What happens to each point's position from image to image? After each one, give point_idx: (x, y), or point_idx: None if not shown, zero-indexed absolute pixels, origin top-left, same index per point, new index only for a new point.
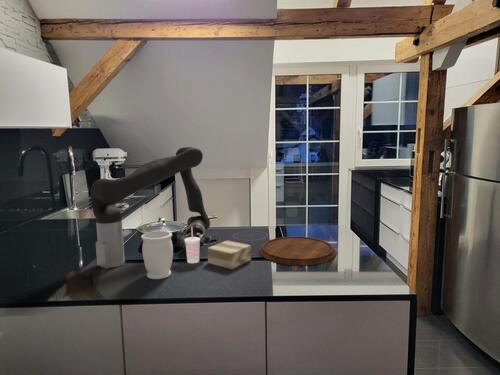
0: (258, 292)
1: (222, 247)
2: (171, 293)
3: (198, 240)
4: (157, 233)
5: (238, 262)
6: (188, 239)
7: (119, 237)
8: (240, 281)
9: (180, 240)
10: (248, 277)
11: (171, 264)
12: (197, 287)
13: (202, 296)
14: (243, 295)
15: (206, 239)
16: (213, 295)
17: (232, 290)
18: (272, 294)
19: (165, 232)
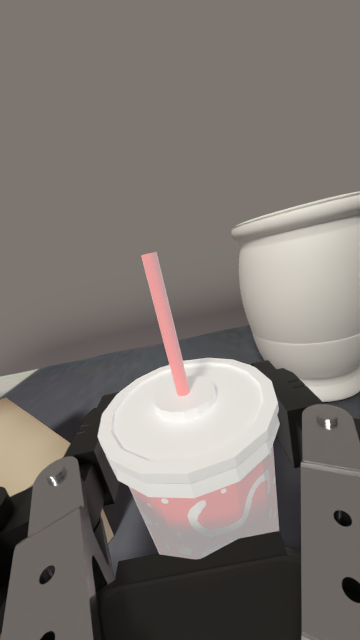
0: (55, 369)
1: None
2: (215, 337)
3: (125, 389)
4: (347, 210)
5: None
6: (228, 394)
7: None
8: (61, 392)
9: (356, 421)
10: (26, 411)
11: (260, 352)
12: (166, 358)
13: (156, 344)
14: (86, 359)
15: (16, 497)
16: (136, 349)
17: (97, 365)
18: (37, 369)
19: (296, 216)
